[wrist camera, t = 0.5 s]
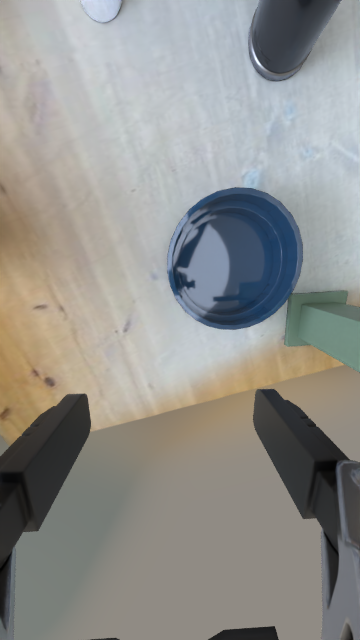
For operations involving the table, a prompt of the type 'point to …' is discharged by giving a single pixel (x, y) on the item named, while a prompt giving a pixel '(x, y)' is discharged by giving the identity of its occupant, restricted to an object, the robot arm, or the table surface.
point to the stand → (325, 325)
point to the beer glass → (101, 9)
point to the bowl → (235, 258)
